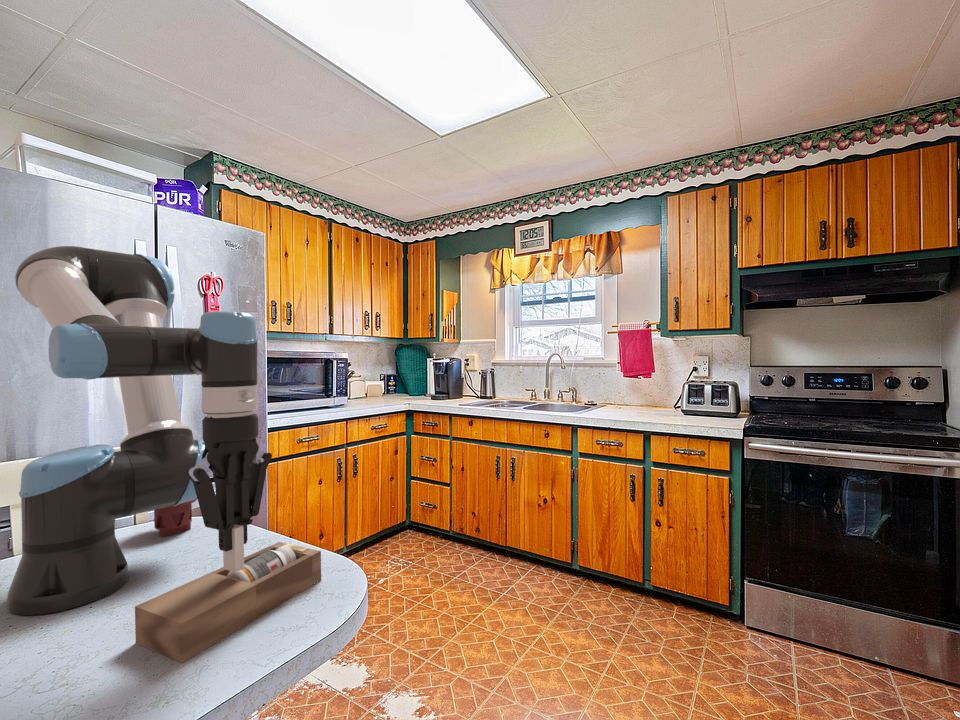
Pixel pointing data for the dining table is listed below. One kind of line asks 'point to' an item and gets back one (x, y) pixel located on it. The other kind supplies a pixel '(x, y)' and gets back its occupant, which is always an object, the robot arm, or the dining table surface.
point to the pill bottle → (264, 564)
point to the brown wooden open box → (219, 605)
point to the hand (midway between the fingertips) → (233, 568)
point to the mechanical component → (173, 518)
